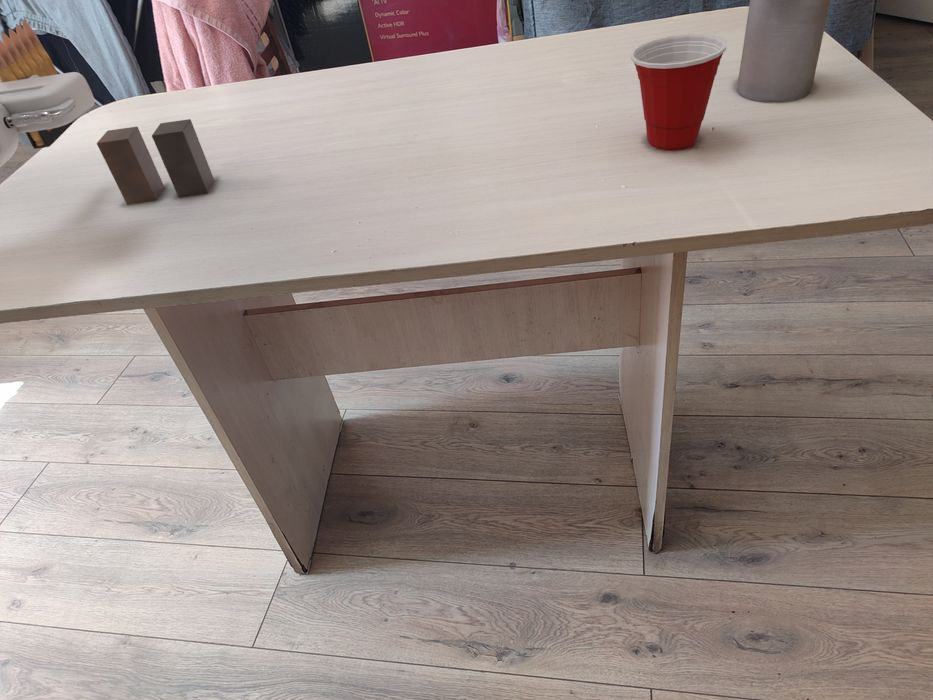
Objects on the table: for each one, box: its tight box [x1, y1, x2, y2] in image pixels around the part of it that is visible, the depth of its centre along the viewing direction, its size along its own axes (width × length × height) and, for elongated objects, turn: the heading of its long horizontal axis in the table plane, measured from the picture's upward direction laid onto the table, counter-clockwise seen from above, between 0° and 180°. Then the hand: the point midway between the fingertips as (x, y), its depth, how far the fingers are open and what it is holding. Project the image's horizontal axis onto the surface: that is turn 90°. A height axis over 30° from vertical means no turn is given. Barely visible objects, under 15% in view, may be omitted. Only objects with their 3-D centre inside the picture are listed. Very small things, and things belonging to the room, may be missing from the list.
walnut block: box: [96, 126, 165, 206], centre depth 89 cm, size 4×4×9 cm
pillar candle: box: [736, 0, 832, 103], centre depth 90 cm, size 10×10×15 cm
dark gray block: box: [151, 118, 215, 199], centre depth 88 cm, size 4×4×9 cm
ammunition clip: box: [0, 19, 80, 150], centre depth 81 cm, size 11×2×12 cm, turn 4°
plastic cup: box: [629, 33, 728, 152], centre depth 82 cm, size 11×11×12 cm
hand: (23, 83), depth 79 cm, fingers closed on ammunition clip, 2 cm apart
